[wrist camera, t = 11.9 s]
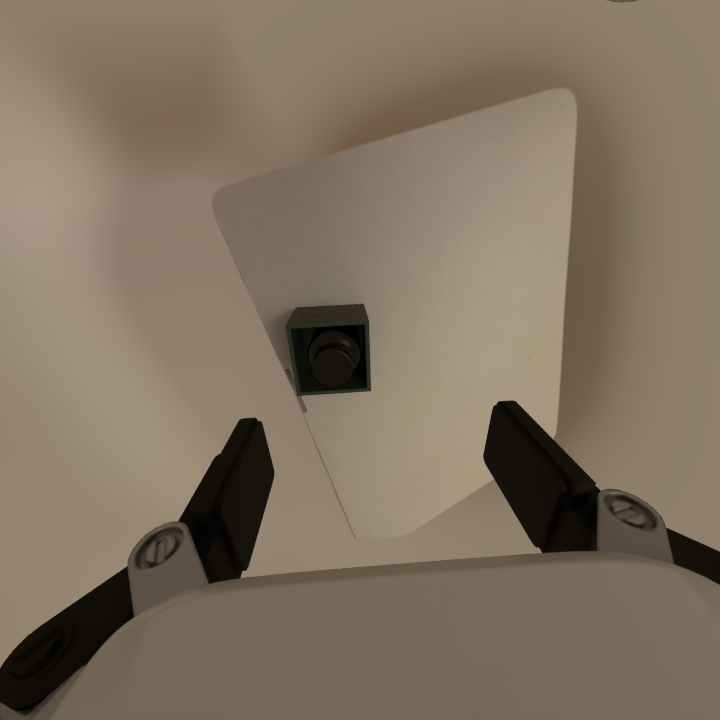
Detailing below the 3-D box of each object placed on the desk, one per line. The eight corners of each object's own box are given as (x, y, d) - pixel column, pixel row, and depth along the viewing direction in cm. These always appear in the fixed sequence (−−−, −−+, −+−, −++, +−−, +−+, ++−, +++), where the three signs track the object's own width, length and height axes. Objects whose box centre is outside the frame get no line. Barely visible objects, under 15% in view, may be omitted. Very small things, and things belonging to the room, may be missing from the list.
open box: (296, 307, 40) (285, 325, 33) (363, 303, 41) (368, 320, 33) (305, 367, 45) (297, 396, 37) (366, 364, 45) (370, 391, 37)
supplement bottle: (333, 301, 40) (329, 327, 29) (367, 330, 42) (376, 364, 31) (304, 335, 42) (290, 371, 31) (338, 361, 44) (337, 403, 33)
